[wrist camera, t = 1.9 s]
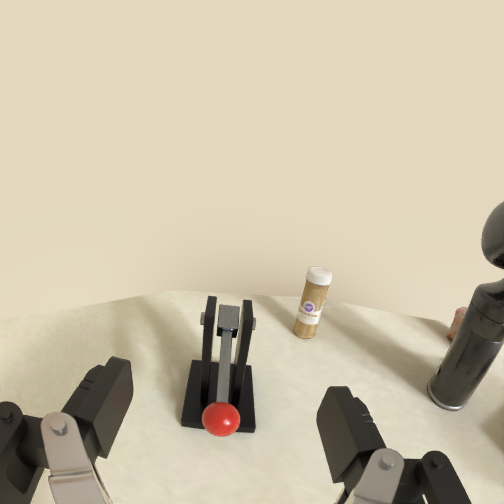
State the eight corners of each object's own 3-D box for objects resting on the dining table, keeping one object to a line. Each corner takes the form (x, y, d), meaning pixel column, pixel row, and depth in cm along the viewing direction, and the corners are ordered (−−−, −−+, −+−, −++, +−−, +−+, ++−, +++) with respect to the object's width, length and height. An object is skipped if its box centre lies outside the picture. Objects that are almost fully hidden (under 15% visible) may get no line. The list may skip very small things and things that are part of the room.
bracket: (254, 432, 29) (278, 345, 24) (181, 426, 28) (178, 335, 23) (250, 371, 40) (265, 287, 35) (192, 365, 39) (195, 279, 35)
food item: (441, 335, 54) (456, 300, 51) (455, 330, 56) (469, 297, 53) (476, 364, 42) (496, 327, 39) (488, 356, 44) (506, 322, 41)
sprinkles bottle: (291, 336, 51) (307, 272, 46) (294, 324, 55) (308, 263, 50) (314, 341, 50) (333, 277, 45) (315, 329, 54) (332, 268, 50)
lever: (237, 438, 23) (241, 436, 20) (200, 435, 22) (200, 433, 20) (242, 319, 32) (246, 304, 30) (212, 316, 32) (213, 300, 29)
